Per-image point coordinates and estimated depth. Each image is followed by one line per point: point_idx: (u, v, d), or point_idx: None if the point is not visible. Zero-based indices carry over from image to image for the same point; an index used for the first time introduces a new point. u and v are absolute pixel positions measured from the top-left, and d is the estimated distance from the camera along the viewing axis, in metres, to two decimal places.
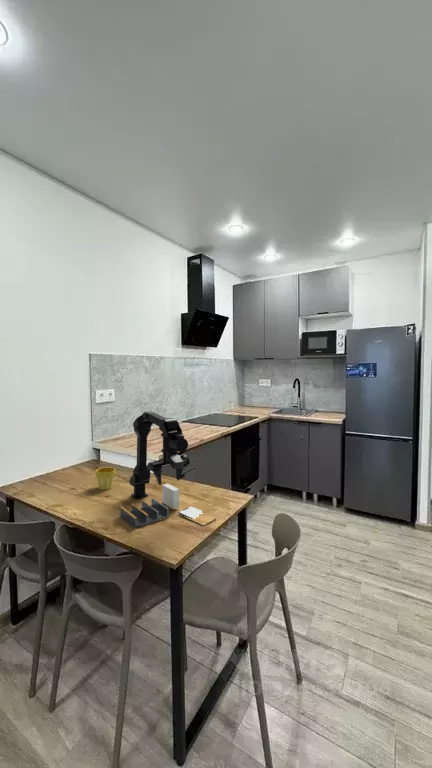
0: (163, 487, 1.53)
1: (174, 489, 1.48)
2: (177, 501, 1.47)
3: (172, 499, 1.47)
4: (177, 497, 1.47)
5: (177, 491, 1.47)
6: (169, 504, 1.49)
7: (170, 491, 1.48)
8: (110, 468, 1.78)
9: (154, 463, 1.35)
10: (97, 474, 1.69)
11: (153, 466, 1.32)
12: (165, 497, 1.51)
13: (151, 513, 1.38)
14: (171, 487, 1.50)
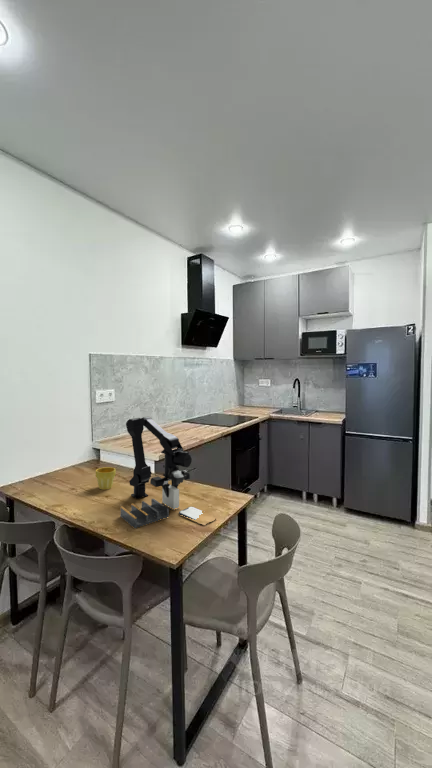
0: None
1: (174, 488, 1.48)
2: (177, 501, 1.47)
3: (172, 499, 1.47)
4: (177, 497, 1.47)
5: (177, 491, 1.47)
6: (169, 504, 1.49)
7: (170, 490, 1.48)
8: (110, 468, 1.78)
9: (157, 478, 1.45)
10: (97, 474, 1.69)
11: (156, 481, 1.43)
12: (165, 496, 1.51)
13: (151, 513, 1.38)
14: (171, 487, 1.50)
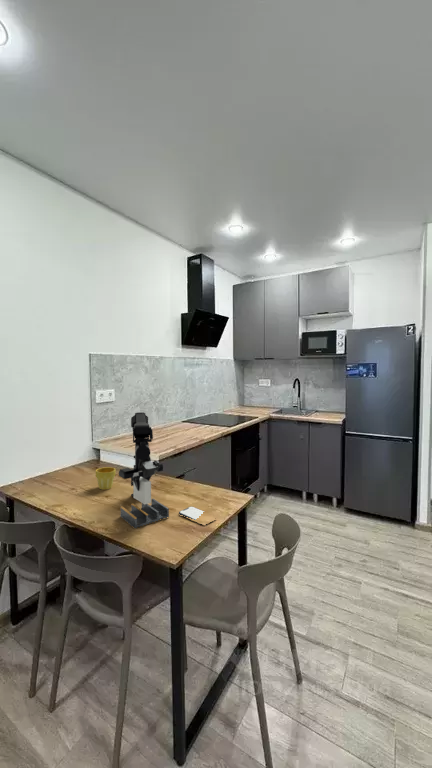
0: None
1: (146, 481, 1.35)
2: (149, 494, 1.35)
3: (143, 492, 1.34)
4: (149, 490, 1.34)
5: (149, 483, 1.35)
6: (140, 498, 1.36)
7: (141, 483, 1.35)
8: (110, 468, 1.78)
9: (126, 470, 1.32)
10: (97, 474, 1.69)
11: (124, 473, 1.30)
12: (136, 490, 1.38)
13: (151, 513, 1.38)
14: (142, 480, 1.37)
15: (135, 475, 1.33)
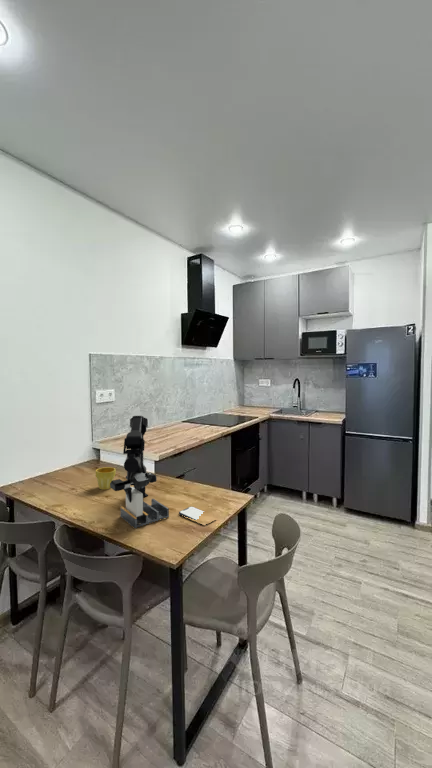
0: None
1: (138, 493, 1.33)
2: (140, 507, 1.32)
3: (135, 504, 1.31)
4: (140, 502, 1.32)
5: (141, 495, 1.32)
6: (132, 510, 1.33)
7: (133, 495, 1.33)
8: (110, 468, 1.78)
9: (117, 482, 1.30)
10: (97, 474, 1.69)
11: (115, 485, 1.28)
12: (128, 501, 1.36)
13: (151, 513, 1.38)
14: (134, 491, 1.34)
15: (127, 487, 1.31)
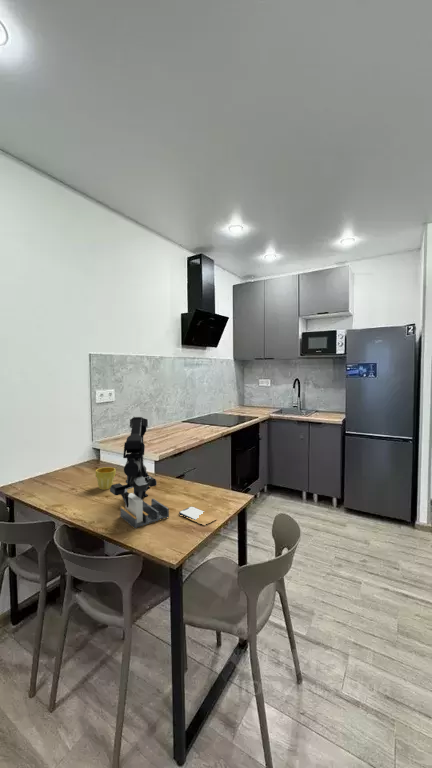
0: None
1: (138, 499, 1.33)
2: (140, 513, 1.32)
3: (134, 511, 1.31)
4: (140, 509, 1.32)
5: (141, 502, 1.32)
6: None
7: (133, 501, 1.33)
8: (110, 468, 1.78)
9: (117, 486, 1.30)
10: (97, 474, 1.69)
11: (115, 489, 1.28)
12: (128, 508, 1.36)
13: (151, 513, 1.38)
14: (134, 497, 1.35)
15: None
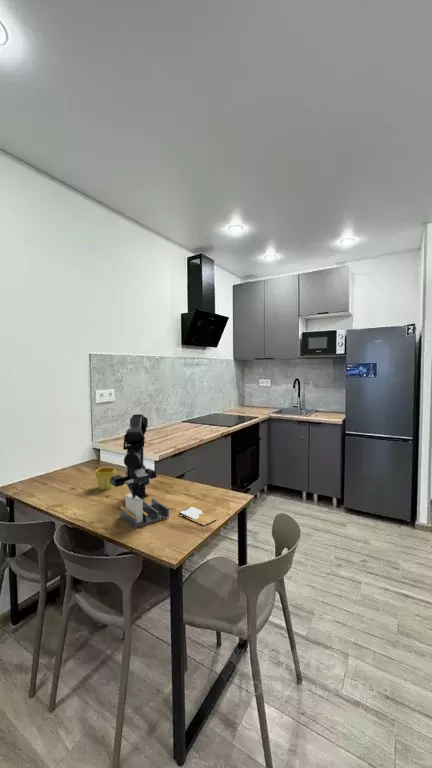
0: (126, 497, 1.37)
1: (138, 499, 1.33)
2: (140, 513, 1.32)
3: (134, 511, 1.31)
4: (140, 509, 1.32)
5: (141, 502, 1.32)
6: None
7: (133, 501, 1.33)
8: (110, 468, 1.78)
9: (117, 477, 1.30)
10: (97, 474, 1.69)
11: (115, 481, 1.27)
12: (128, 508, 1.36)
13: (151, 513, 1.38)
14: (134, 497, 1.35)
15: (130, 482, 1.32)
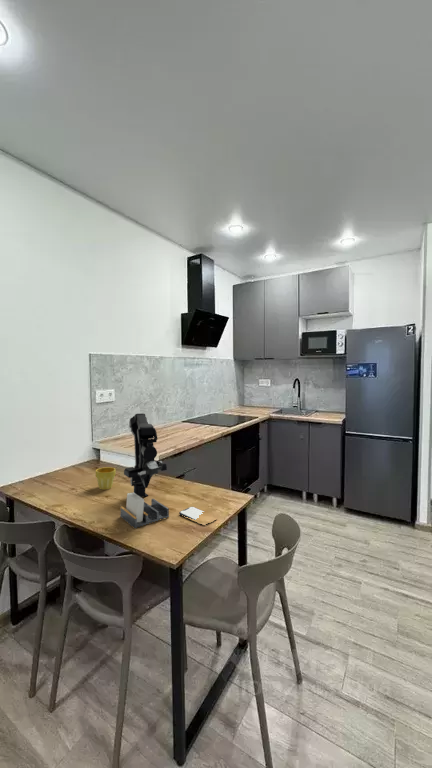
0: (128, 496, 1.38)
1: (139, 499, 1.33)
2: (141, 513, 1.32)
3: (135, 510, 1.32)
4: (141, 508, 1.32)
5: (142, 501, 1.32)
6: None
7: (134, 500, 1.33)
8: (110, 468, 1.78)
9: (130, 469, 1.39)
10: (97, 474, 1.69)
11: (129, 472, 1.36)
12: (129, 507, 1.36)
13: (151, 513, 1.38)
14: (136, 497, 1.35)
15: (142, 473, 1.41)
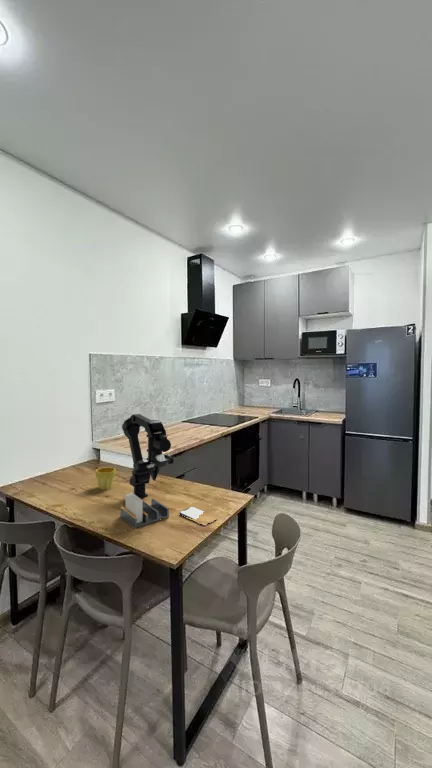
0: (126, 497, 1.37)
1: (137, 499, 1.33)
2: (140, 513, 1.32)
3: (134, 511, 1.31)
4: (140, 509, 1.32)
5: (141, 502, 1.32)
6: None
7: (132, 501, 1.33)
8: (110, 468, 1.78)
9: (139, 462, 1.45)
10: (97, 474, 1.69)
11: (138, 465, 1.42)
12: (128, 508, 1.36)
13: (151, 513, 1.38)
14: (134, 497, 1.34)
15: (151, 466, 1.47)
